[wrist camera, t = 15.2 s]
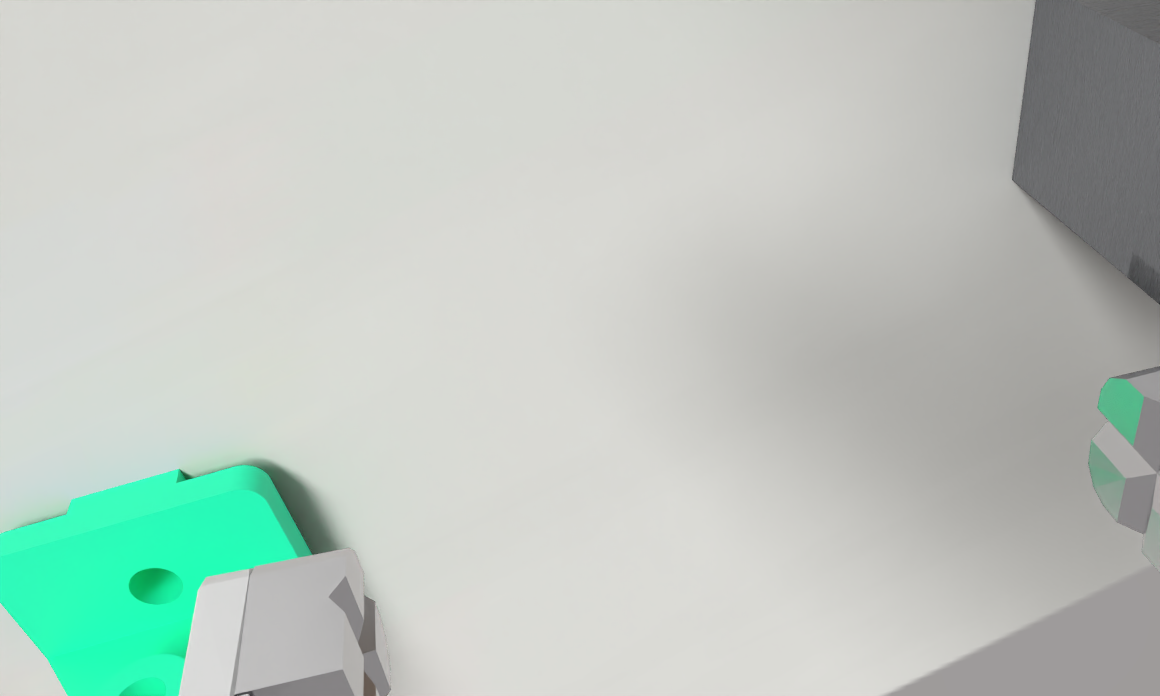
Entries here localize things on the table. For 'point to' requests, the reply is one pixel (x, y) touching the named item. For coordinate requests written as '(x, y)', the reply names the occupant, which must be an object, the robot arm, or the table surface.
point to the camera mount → (138, 573)
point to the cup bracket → (1097, 127)
